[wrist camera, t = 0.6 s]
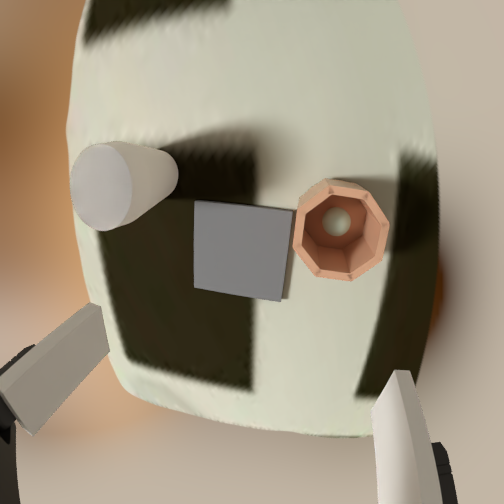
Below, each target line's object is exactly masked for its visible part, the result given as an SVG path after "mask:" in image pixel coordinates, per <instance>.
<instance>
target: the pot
mask: <svg viewBox="0 0 504 504" xmlns="http://www.w3.org/2000/svg"><path fill="white" fill-rule="evenodd" d="M333 207H340V208H342V209H344V210H345V211H347V213H348V214H349V216H350V219H351V225H350V228H349V230H348V231H347V232H346V233H345V234H343V235H341V236H332V235H330V234H328V233H327V232H326V231H325V229H324V228H323V225H322V218H323V215H324V213H325V212H326V211H327V210H328V209H330V208H333ZM389 227H390V223H389V221H388V220H387V218H386V217H385V215H384V214H383V212H382V210H381V209H380V207H379V206H378V204H377V203H376V201H375V200H374V198H373V197H372V195H371V194H370V193H369V191H367V190H366V189H364V188H362V187H361V186H359V185H358V184H356V183H351V182H346V181H342V180H335V179H334V180H333V179H326V178H324V179H323V180H322V181H320V182H319V183H317V184H315V185H314V186H312V187H311V188H310V189H309V190H308V191H307V192H306V193H305V194H303V195H302V196H301V197H300V198H299V203H298V208H297V215H296V223H295V231H294V239H293V246H292V247H293V249H294V250H295V252H296V253H297V254H298V255H299V257H300V258H301V259H302V260H303V262H304V263H305V264H306V265H307V267H308V268H309V269H310V270H311V272H312V273H313V274H314V276H316V277H323V278H330V279H337V280H344V281H353V280H354V279H356V278H357V277H359V276H360V275H362V274H363V273H365V272H366V271H368V270H369V269H370V268H372V267H373V266H375V265H376V264H378V263H379V262H381V261H382V258H383V254H384V250H385V245H386V241H387V236H388V231H389Z"/></svg>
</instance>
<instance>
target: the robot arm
mask: <svg viewBox="0 0 504 504" xmlns="http://www.w3.org/2000/svg"><path fill="white" fill-rule="evenodd" d="M109 352H110V348H109V344H108V340H107V335H106V330H105V325H104V320H103V315H102V309H101V306H98V305H95V304H93V303H90V302H89V303H88V304H87V305H85V306H84V307H83V308H81V309H80V310H79V311H78V312H76V313H75V314H74V315H73V316H71V317H70V318H69V319H68V320H66V321H65V322H64V323H63V324H61V325H60V326H59V327H57V328H56V329H55V330H54V331H53V332H51V333H50V334H49V335H48V336H46V337H45V338H44V339H43V340H42V341H40V342H39V343H38V344H37V345H35V344H33V345H31V346H29V347H26V348H24V349H23V350H22V351H21V352H20V353H18V354H17V356H15V357H14V358H13V359H11V361H9V362H8V363H7V364H6V365H4V366H3V367H2V368H1V369H0V504H20V498H19V490H18V480H17V468H16V425H15V423H14V421H15V420H16V419H17V421H18V422H19V424H20V425H21V426H22V427H23V428H24V429H25V430H26V431H27V432H28V433H29V434H31V435H32V436H34V435H35V434H36V433H37V432H38V431H39V430H40V428H41V427H42V426H43V425H44V424H45V423H46V421H47V420H48V419H49V418H50V417H51V416H52V415H53V413H54V412H55V411H56V410H57V409H58V408H59V407H60V405H61V404H62V403H63V402H64V401H65V400H66V399H67V397H68V396H69V395H70V394H71V393H72V392H73V391H74V390H75V388H76V387H77V386H78V385H79V384H80V383H81V382H82V381H83V380H84V379H85V377H86V376H87V375H88V374H89V373H90V372H91V371H92V370H93V369H94V368H95V367H96V366H97V364H98V363H99V362H100V361H101V360H102V359H103V358H104V357H105V356H106V355H107V354H108V353H109ZM371 419H372V427H373V436H374V445H375V456H376V469H377V486H378V504H458V501H457V495H456V490H455V485H454V480H453V475H452V474H451V472H452V471H451V466H450V465H449V463H450V462H449V458H448V454H447V451H446V450H445V448H444V447H443V445H442V444H441V442H436V443H431V441H430V437H429V433H428V429H427V425H426V422H425V418H424V415H423V412H422V408H421V404H420V401H419V398H418V395H417V391H416V388H415V385H414V382H413V379H412V376H411V373H410V371H404V370H394V372H393V374H392V375H391V377H390V379H389V381H388V383H387V384H386V386H385V388H384V390H383V391H382V393H381V395H380V396H379V398H378V400H377V401H376V403H375V405H374V406H373V408H372V409H371Z"/></svg>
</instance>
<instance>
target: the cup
mask: <svg viewBox="0 0 504 504" xmlns="http://www.w3.org/2000/svg"><path fill="white" fill-rule="evenodd" d="M177 181H178V168H177V165H176V162H175V161H174V159H173V158H172V157H171V156H170V155H169V154H168V153H166V152H164V151H162V150H158V149H154V148H149V147H145V146H141V145H137V144H132V143H127V142H122V141H113V142H107V143H101V144H94V145H91V146H89V147H87V148H86V149H85V150H83V151H82V152H81V153H80V155H79V156H78V157H77V159H76V161H75V163H74V165H73V168H72V171H71V177H70V194H71V199H72V202H73V205H74V208H75V210H76V212H77V214H78V215H79V217H80V218H81V219H82V220H83V222H84V223H85V224H87V225H88V226H89V227H91V228H93V229H95V230H99V231H107V230H111V229H114V228H116V227H119V226H122V225H125V224H128V223H131V222H132V221H134V220H136V219H137V218H138V217H140V216H141V215H142V214H144V213H145V212H146V211H148V210H149V209H150V208H152V207H153V206H154V205H156V204H157V203H159V202H160V201H161V200H163V199H164V198H166V197H167V196H168V195H170V194H171V193H172V192H173V190H174V189H175V187H176V184H177Z"/></svg>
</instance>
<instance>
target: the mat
mask: <svg viewBox="0 0 504 504" xmlns="http://www.w3.org/2000/svg"><path fill="white" fill-rule="evenodd" d="M292 214H293V211H292V210H285V209H277V208H269V207H260V206H252V205H243V204H234V203H224V202H214V201H203V200H196V201H195V213H194V287H195V288H201V289H206V290H212V291H217V292H223V293H228V294H234V295H240V296H246V297H252V298H258V299H264V300H271V301H277V302H281V298H282V291H283V284H284V277H285V270H286V262H287V255H288V247H289V239H290V231H291V223H292Z"/></svg>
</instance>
